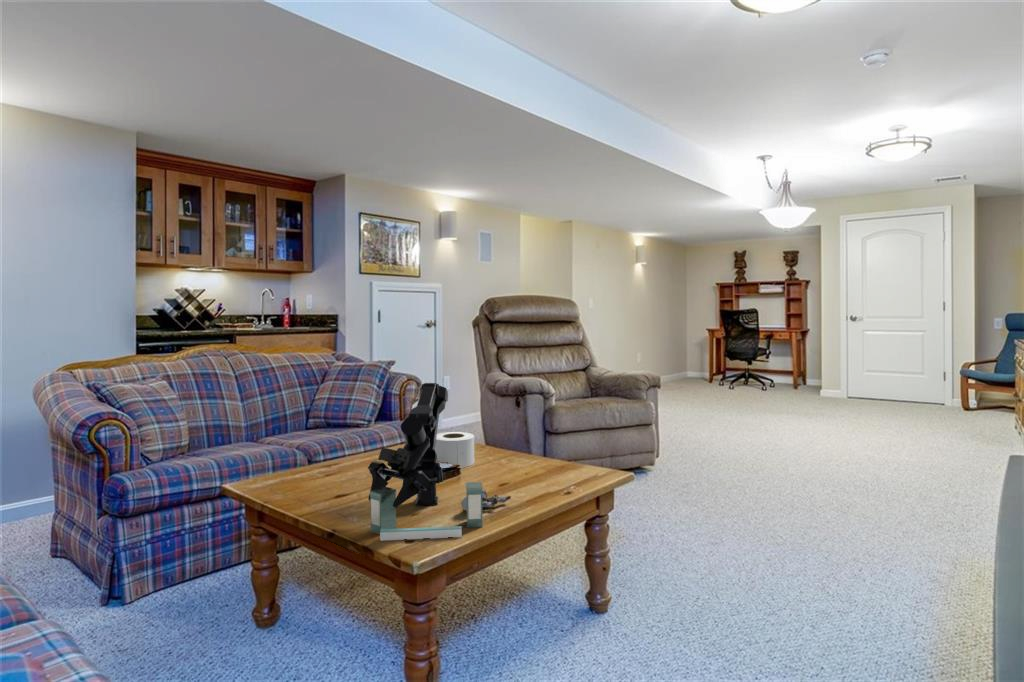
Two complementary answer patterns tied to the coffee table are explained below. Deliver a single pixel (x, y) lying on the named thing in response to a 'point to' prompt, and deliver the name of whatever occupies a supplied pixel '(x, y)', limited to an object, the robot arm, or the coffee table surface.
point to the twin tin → (474, 504)
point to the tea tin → (382, 509)
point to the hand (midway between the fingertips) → (381, 503)
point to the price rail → (420, 533)
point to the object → (455, 448)
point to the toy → (486, 500)
